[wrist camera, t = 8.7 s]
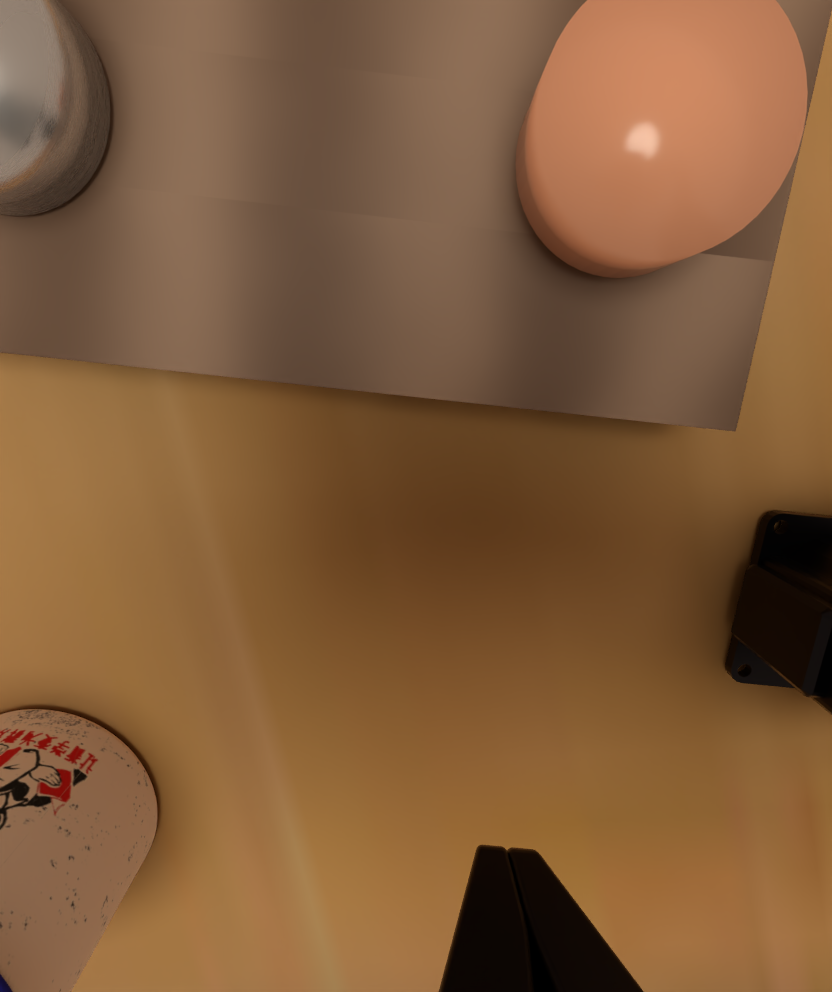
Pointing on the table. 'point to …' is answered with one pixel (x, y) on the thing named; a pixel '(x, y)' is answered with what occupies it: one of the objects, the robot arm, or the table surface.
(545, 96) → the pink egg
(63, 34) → the grey plunger
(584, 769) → the table surface
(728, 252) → the press block
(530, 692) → the table surface
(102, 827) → the teacup with lid
